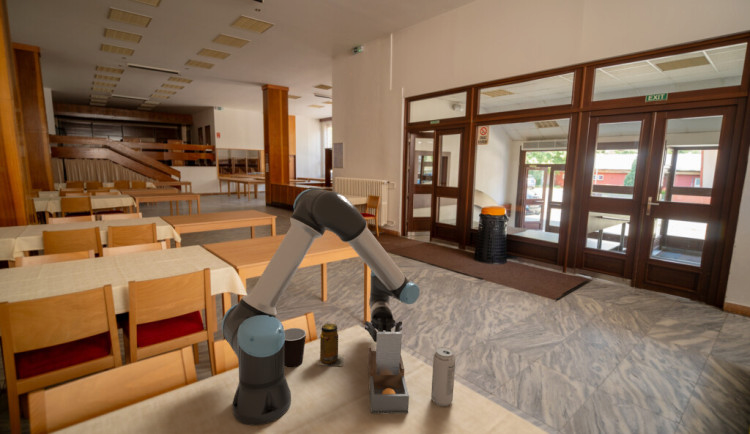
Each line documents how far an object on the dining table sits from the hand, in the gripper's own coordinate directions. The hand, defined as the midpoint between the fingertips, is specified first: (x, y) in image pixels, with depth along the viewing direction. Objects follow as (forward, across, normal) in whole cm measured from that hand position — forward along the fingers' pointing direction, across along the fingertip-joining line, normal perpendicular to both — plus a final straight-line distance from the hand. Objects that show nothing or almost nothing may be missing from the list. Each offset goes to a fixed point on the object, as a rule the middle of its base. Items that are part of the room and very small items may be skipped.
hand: (388, 350), depth 100 cm
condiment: (-17, +17, -13) cm, 28 cm away
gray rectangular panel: (+1, 0, -7) cm, 7 cm away
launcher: (-6, 0, -13) cm, 14 cm away
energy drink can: (+4, -15, -13) cm, 21 cm away
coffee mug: (-17, +30, -13) cm, 37 cm away
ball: (+6, 0, -10) cm, 12 cm away
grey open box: (+4, 0, -13) cm, 14 cm away
